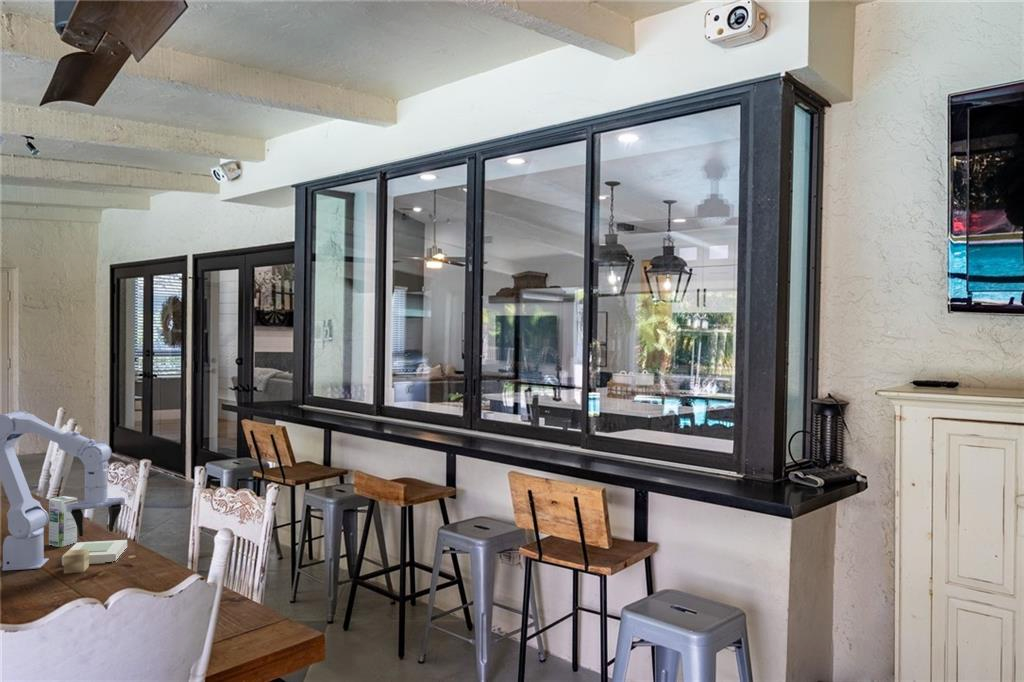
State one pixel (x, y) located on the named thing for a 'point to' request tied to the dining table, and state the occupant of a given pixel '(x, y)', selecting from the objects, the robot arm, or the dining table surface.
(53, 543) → the syrup box
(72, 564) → the birch block
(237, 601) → the dining table surface
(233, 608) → the dining table surface
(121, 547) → the base plinth
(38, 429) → the robot arm
